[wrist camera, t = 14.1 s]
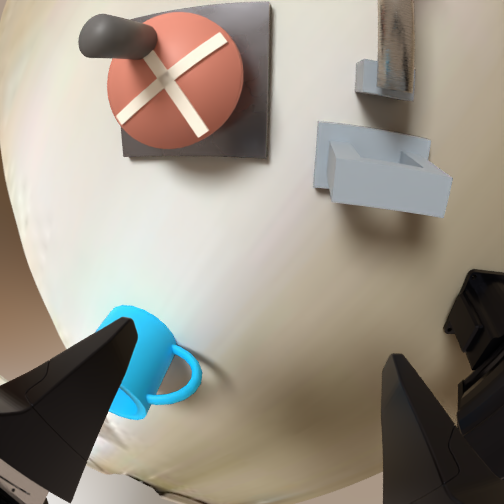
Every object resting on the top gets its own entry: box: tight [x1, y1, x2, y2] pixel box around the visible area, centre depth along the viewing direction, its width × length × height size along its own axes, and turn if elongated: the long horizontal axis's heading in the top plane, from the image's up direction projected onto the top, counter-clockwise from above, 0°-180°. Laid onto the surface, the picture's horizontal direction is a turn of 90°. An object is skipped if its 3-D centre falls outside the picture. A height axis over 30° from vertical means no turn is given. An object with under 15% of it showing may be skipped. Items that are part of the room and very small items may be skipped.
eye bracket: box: [313, 59, 453, 218], centre depth 14 cm, size 7×8×6 cm
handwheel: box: [79, 12, 244, 149], centre depth 13 cm, size 8×8×6 cm
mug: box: [96, 305, 202, 420], centre depth 26 cm, size 12×8×8 cm
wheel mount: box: [121, 2, 270, 158], centre depth 16 cm, size 10×10×1 cm
